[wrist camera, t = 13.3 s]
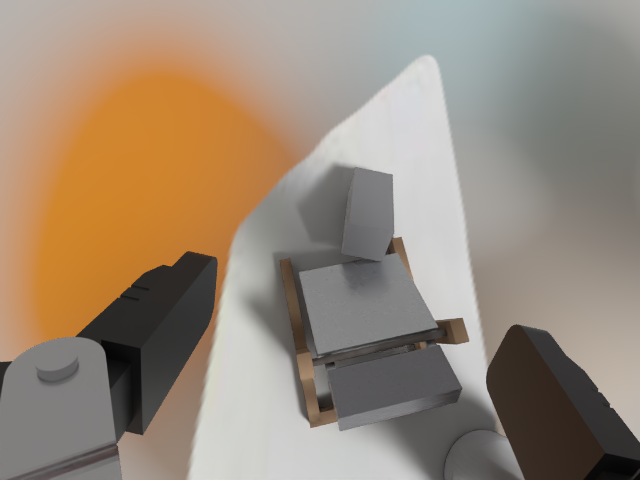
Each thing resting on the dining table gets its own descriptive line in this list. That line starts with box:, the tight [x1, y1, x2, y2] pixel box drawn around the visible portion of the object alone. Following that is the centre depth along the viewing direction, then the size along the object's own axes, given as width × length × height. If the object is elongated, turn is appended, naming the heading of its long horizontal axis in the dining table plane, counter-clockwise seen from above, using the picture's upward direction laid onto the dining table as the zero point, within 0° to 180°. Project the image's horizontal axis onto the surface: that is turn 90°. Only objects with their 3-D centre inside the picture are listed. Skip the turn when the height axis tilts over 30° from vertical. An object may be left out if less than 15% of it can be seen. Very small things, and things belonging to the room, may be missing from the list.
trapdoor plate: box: [299, 253, 462, 431], centre depth 34 cm, size 15×11×3 cm
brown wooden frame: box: [280, 237, 469, 428], centre depth 36 cm, size 18×15×12 cm
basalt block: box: [341, 167, 394, 262], centre depth 40 cm, size 4×4×10 cm
